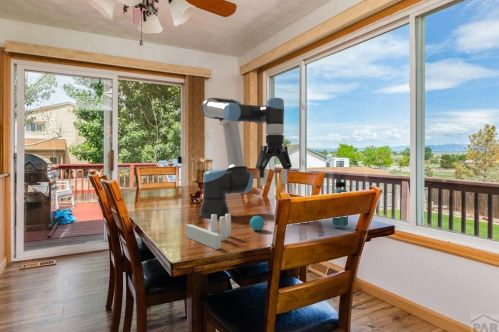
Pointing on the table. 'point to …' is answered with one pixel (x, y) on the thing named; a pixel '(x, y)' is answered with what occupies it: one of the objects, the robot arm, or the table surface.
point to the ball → (257, 223)
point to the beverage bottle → (342, 220)
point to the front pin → (228, 225)
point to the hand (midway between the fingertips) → (274, 184)
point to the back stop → (203, 236)
